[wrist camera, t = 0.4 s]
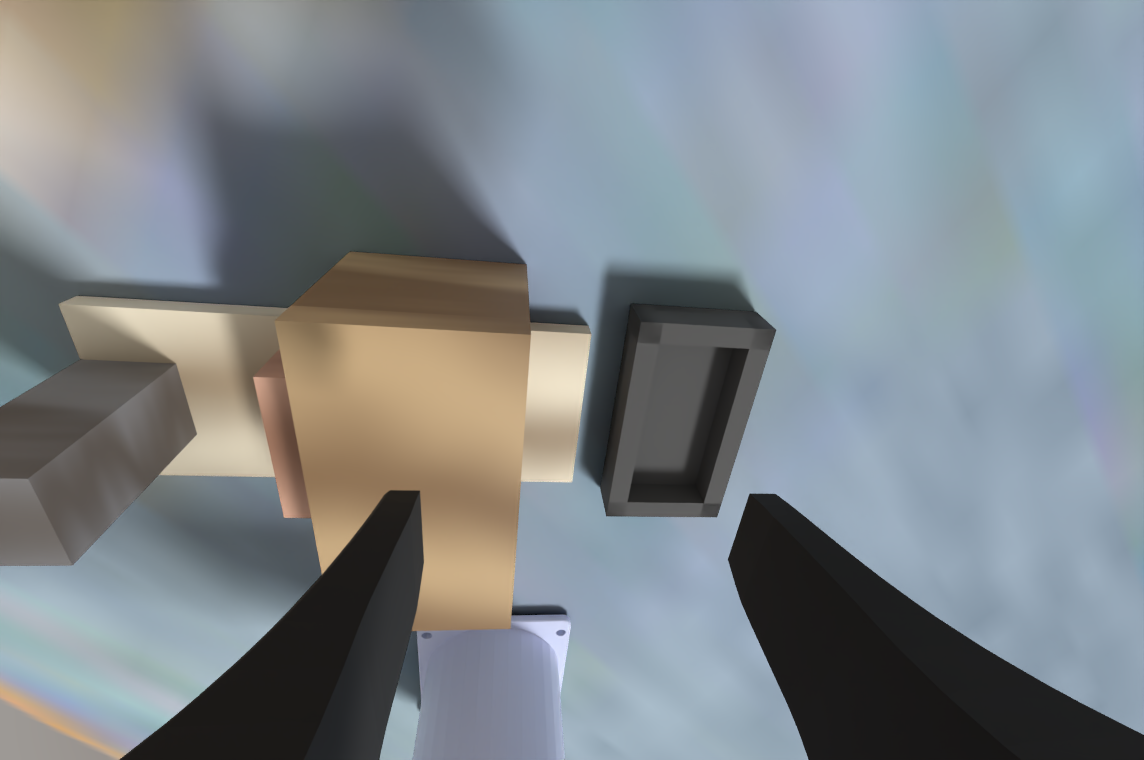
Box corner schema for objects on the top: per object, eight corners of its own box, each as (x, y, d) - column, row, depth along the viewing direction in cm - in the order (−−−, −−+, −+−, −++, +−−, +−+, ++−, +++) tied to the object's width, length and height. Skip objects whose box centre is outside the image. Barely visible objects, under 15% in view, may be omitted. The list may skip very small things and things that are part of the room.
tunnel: (511, 507, 23) (510, 628, 18) (376, 505, 23) (332, 632, 17) (526, 264, 18) (531, 334, 13) (349, 251, 17) (274, 320, 12)
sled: (570, 470, 23) (589, 606, 17) (138, 461, 20) (-21, 615, 14) (588, 325, 19) (621, 429, 13) (77, 295, 17) (-166, 403, 11)
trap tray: (704, 489, 24) (717, 516, 23) (600, 488, 23) (606, 516, 22) (755, 311, 20) (776, 329, 18) (631, 303, 19) (640, 321, 18)
